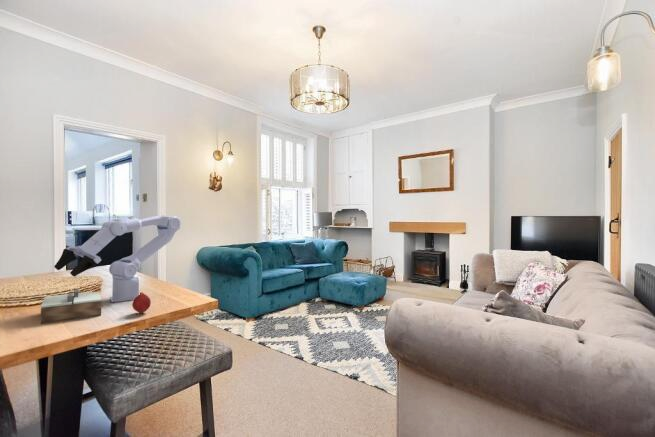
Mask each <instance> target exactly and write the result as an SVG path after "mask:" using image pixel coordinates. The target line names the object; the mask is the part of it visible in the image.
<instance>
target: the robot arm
mask: <svg viewBox="0 0 655 437" xmlns="http://www.w3.org/2000/svg"><path fill="white" fill-rule="evenodd" d="M148 226H156V230H157V234H158V235H157V236H156V237H154V238H153V239H151V240H150V241H148V242H147V243H146V244H144V245H143V246H142V247H140V248H139V249H137V250H136V251H135V252H134V253H132V254H131V255H129V256H126V257H122V258H121V259H118V260H115V261H113V262H112V263H111V264H110V265H109V269H108V271H109V273H110V275H111V276H112V292H111V294H112V295H111V296H110V301H111V303H116V302H125V301H134V299H135V298H136V297H137V296H138V295H140V280H139V276H135V275H136V274H137V272H138V271H139V270H140V269H141V268H142V267H141V264H143V263H144V262H145V261H147V260H148V259H149V258H150V257H151V256H153V255H154V254H156V253H157V252H158V251H159V250H161V249H162V248H163V247H164V246H166V245H167V244H169V243H170V242H171V240H172V239H173V238H174V236H175V234H176V232H178V231H179V230H180V229H181V219H180V218H179V217H178V216H175V215H174V216H171V215H169V216H168V215H155V216H154V215H153V216H149V217H146V218H141V219H140V218H139V219H138V218H137V217H134V216H128V218H123V219H121V218H118V219H117V220H116V221H115V220H109V221H106V222H105V221H104V222H103V223H102V225H101V229H99V230H98V231H97V232H96V233H94V234H93V235H92V236H91V237H90V238H88V239H87V240H86V241H85V242H84V243H83V244H82V245H77V246H71V245H69V246H68V247H67V248H64V249H63V250H62V253H61V256H60V257H59V259H58V260H57V262H56V264H55V265H54V266H53V268H54V269H56V270H57V271H60V270H61V269H63V268H64V267H65V266H67V265H69V263H71V262H74V261H76V260H78V257H81V260H80V261H79V262H78V264H77V265H76V266H75V267H74V268H73V269H72V270H71V271H70V272H69V273H70V275H71V276H72V277H75V278H76V276H78V275H80V274H82V273H83V272H85V271H88V270H90V269H95V268H96V267H97V264H99V263H101V261H102V259H101V256H98V253H99V252H101V251H102V250H103V249H104V248H105V247H106V246H107V245H108V244H109V243H110V242H112V241H113V240H114V239H115V238H116V237H117V236H122V235H124V234H126V233H131V232H136V231H139V230H140V229H141V228H142V227H143V228H144V227H148ZM77 256H78V257H77Z"/></svg>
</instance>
